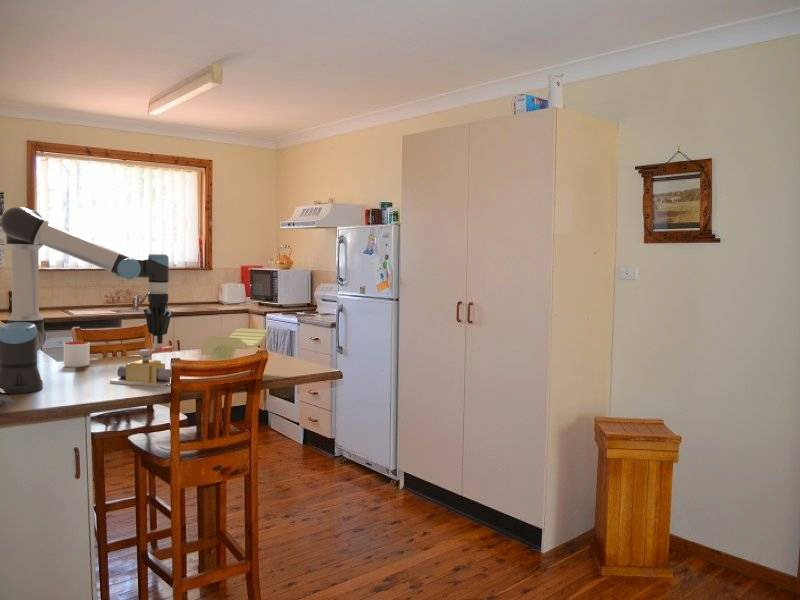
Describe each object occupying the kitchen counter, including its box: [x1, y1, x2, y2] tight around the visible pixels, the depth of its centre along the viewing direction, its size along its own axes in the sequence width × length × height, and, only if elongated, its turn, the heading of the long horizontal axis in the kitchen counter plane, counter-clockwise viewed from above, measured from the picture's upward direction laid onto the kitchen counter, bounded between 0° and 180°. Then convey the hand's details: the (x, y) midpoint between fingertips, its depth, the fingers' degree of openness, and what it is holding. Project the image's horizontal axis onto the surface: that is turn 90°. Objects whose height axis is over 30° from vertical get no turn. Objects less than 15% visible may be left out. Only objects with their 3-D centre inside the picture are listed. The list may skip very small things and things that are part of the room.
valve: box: [109, 356, 172, 388], centre depth 241 cm, size 22×12×10 cm, turn 80°
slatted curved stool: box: [200, 327, 269, 361], centre depth 262 cm, size 30×16×18 cm, turn 171°
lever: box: [139, 345, 175, 357], centre depth 247 cm, size 17×4×2 cm, turn 162°
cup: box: [63, 341, 91, 368], centre depth 270 cm, size 10×10×10 cm
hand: (157, 351), depth 251 cm, fingers closed
